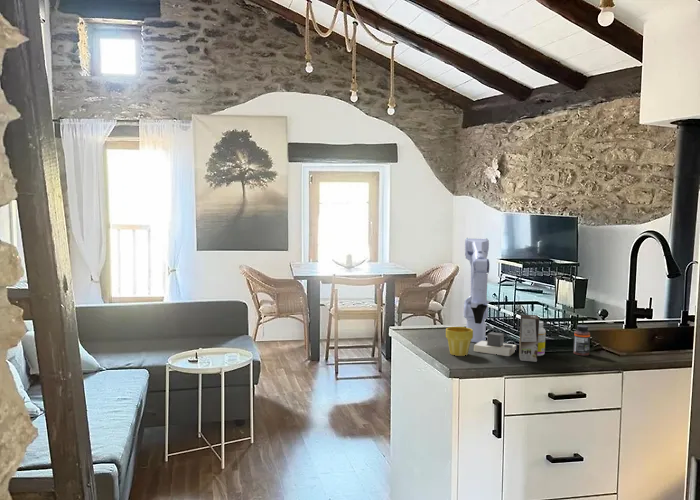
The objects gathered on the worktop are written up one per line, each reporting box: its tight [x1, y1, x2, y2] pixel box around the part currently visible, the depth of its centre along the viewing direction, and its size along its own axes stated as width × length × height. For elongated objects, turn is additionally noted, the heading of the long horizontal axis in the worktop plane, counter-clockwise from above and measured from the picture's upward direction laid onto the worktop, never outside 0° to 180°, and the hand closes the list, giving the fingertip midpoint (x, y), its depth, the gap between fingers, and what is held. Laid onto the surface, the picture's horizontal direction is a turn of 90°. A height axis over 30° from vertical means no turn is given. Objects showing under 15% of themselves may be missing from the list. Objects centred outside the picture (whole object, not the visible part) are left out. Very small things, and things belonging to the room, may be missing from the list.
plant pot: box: [445, 326, 473, 357], centre depth 255 cm, size 10×10×10 cm
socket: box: [473, 340, 517, 357], centre depth 262 cm, size 10×14×3 cm
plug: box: [486, 331, 505, 347], centre depth 261 cm, size 4×5×6 cm
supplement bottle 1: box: [537, 320, 547, 357], centre depth 258 cm, size 7×7×13 cm
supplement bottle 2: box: [572, 324, 591, 357], centre depth 260 cm, size 6×6×11 cm
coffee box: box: [518, 314, 540, 363], centre depth 251 cm, size 9×6×16 cm
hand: (478, 323), depth 264 cm, fingers closed
